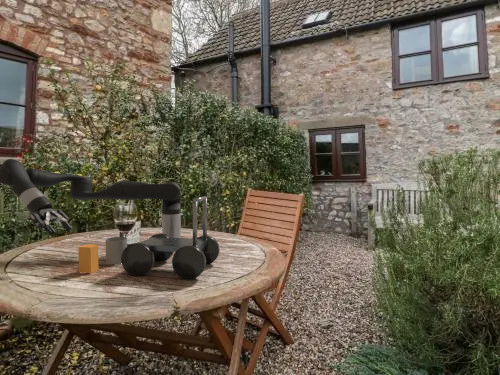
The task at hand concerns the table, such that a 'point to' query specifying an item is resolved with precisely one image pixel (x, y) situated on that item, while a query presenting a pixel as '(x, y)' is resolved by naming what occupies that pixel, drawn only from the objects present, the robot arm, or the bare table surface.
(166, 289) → the table surface
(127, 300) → the table surface
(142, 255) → the trolley
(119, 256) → the cup
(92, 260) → the orange rectangular block
